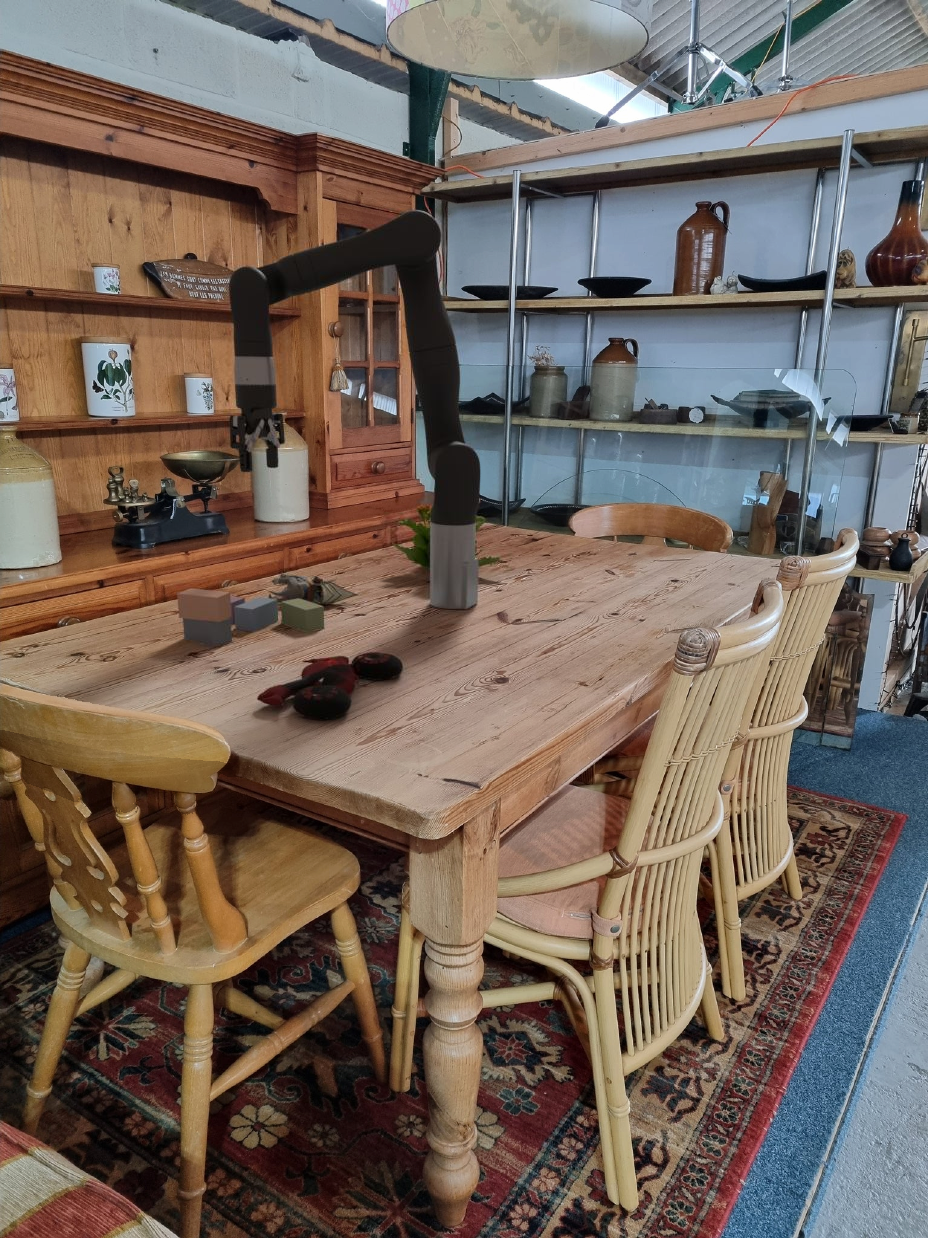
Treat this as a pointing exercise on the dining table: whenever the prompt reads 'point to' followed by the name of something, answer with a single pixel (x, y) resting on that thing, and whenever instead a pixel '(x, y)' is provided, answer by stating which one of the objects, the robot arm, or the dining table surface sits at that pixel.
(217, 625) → the charcoal brick
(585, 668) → the dining table surface
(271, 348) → the robot arm
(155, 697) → the dining table surface
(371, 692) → the dining table surface
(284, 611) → the olive brick
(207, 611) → the terracotta brick
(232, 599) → the plum brick
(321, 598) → the figurine
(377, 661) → the toy motorcycle
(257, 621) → the slate blue brick
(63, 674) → the dining table surface
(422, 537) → the potted flower
